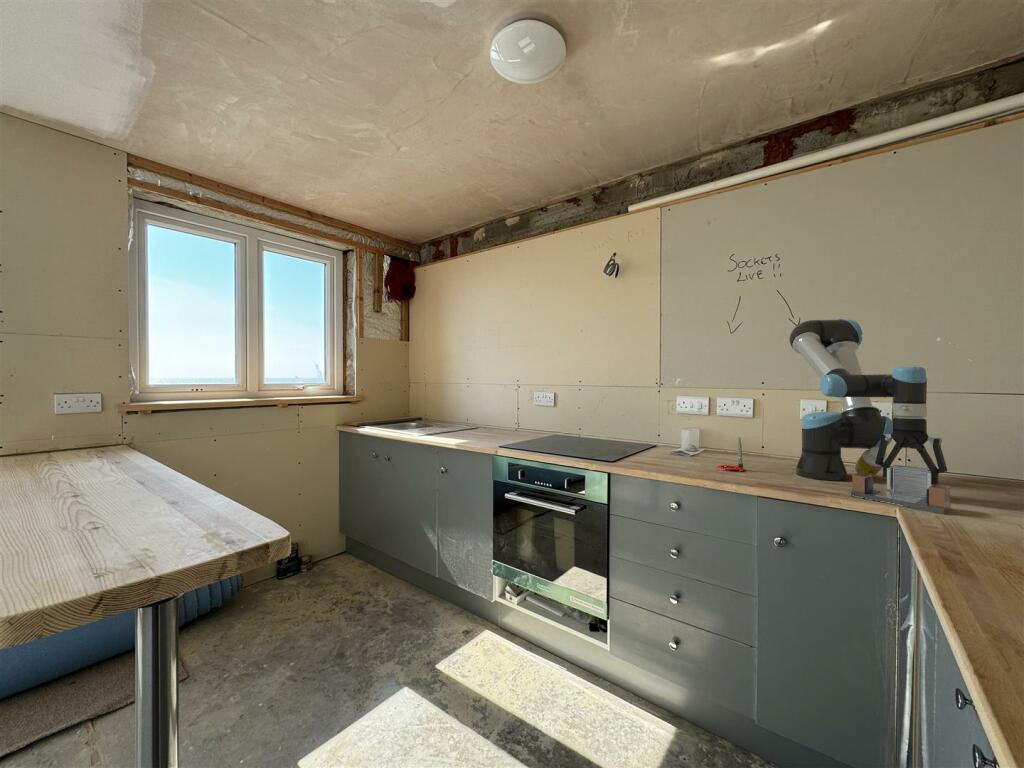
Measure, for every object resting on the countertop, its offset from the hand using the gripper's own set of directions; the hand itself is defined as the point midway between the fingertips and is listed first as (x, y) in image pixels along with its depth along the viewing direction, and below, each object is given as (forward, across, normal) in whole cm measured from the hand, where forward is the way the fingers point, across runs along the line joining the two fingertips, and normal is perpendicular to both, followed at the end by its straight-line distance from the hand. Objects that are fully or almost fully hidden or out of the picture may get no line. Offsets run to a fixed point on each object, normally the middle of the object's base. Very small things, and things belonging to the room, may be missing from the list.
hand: (909, 491), depth 128 cm
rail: (+2, 0, -11) cm, 11 cm away
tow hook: (+1, -51, -10) cm, 52 cm away
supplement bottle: (-1, -18, +22) cm, 29 cm away
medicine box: (+2, 0, +1) cm, 2 cm away
